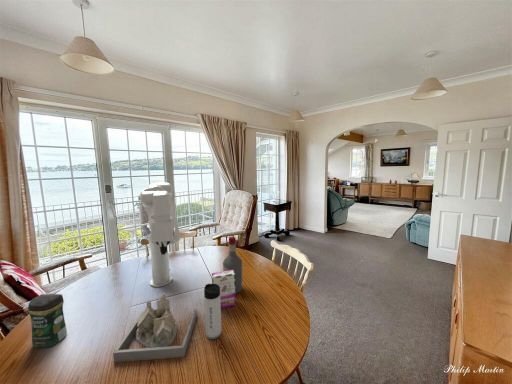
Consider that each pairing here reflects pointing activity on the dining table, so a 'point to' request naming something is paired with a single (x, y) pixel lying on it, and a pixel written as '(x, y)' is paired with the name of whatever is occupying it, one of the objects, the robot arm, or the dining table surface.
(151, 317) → the ceramic cottage
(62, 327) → the coffee jar
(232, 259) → the liquor
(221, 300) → the candy bar box
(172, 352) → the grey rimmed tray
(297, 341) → the dining table surface
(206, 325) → the travel mug
